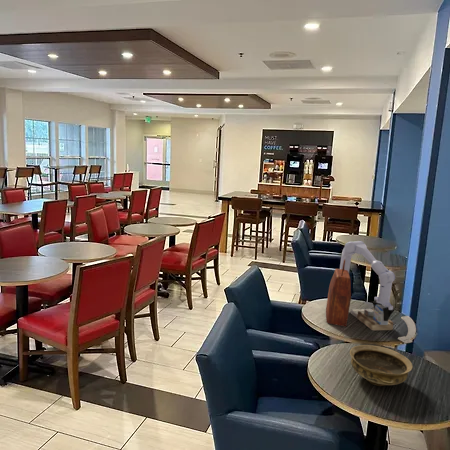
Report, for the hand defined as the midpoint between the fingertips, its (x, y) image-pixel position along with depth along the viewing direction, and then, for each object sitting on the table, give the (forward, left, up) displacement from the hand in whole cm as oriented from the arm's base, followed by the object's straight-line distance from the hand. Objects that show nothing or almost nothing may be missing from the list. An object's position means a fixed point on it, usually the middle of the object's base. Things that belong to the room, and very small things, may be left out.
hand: (381, 317), depth 219 cm
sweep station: (-10, 0, -6) cm, 11 cm away
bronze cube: (-8, +2, -3) cm, 9 cm away
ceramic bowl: (+50, -32, -6) cm, 59 cm away
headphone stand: (+16, +5, -6) cm, 17 cm away
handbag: (-13, -19, -6) cm, 24 cm away
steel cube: (-8, -2, -3) cm, 9 cm away
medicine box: (0, 0, -3) cm, 3 cm away
